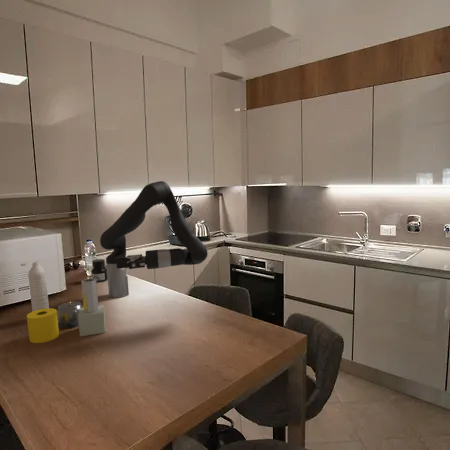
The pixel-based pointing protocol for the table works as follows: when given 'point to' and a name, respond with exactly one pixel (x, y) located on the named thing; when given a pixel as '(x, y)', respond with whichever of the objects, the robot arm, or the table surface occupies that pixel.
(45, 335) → the yellow toilet paper roll
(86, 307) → the sleeve
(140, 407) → the table surface
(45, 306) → the water bottle
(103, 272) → the ink bottle
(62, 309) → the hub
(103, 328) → the sage stand
